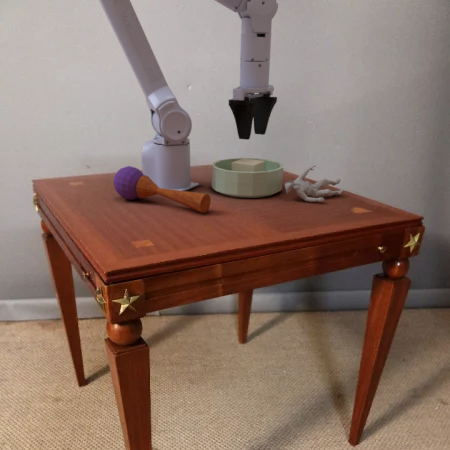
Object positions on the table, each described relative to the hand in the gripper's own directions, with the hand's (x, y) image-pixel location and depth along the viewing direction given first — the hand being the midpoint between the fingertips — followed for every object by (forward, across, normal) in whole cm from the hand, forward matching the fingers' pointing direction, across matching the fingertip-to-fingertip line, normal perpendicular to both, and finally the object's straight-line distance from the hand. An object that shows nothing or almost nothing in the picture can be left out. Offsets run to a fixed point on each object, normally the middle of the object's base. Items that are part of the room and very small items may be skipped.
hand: (252, 136), depth 102 cm
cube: (+9, -6, -2) cm, 11 cm away
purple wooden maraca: (+10, -24, +7) cm, 27 cm away
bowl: (+9, -6, -2) cm, 11 cm away
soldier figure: (+10, -5, -16) cm, 19 cm away
